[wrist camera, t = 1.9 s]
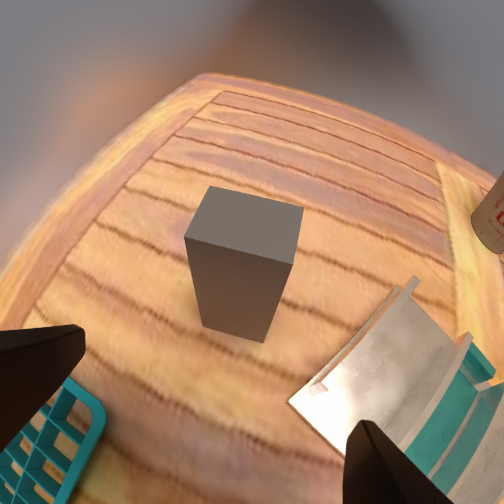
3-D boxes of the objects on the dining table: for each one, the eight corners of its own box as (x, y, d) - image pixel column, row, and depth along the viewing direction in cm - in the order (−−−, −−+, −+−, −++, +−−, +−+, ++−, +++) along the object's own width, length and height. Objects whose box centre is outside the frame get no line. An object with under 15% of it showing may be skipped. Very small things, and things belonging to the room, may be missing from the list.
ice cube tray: (125, 412, 18) (111, 409, 16) (53, 557, 7) (38, 565, 5) (33, 339, 20) (16, 328, 18) (-26, 478, 9) (-44, 477, 7)
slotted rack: (440, 535, 11) (472, 542, 7) (286, 401, 20) (301, 395, 16) (510, 420, 17) (542, 411, 13) (393, 289, 26) (419, 262, 22)
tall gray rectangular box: (263, 342, 22) (292, 264, 12) (203, 326, 23) (183, 236, 13) (272, 304, 24) (304, 207, 14) (216, 289, 25) (209, 185, 15)
